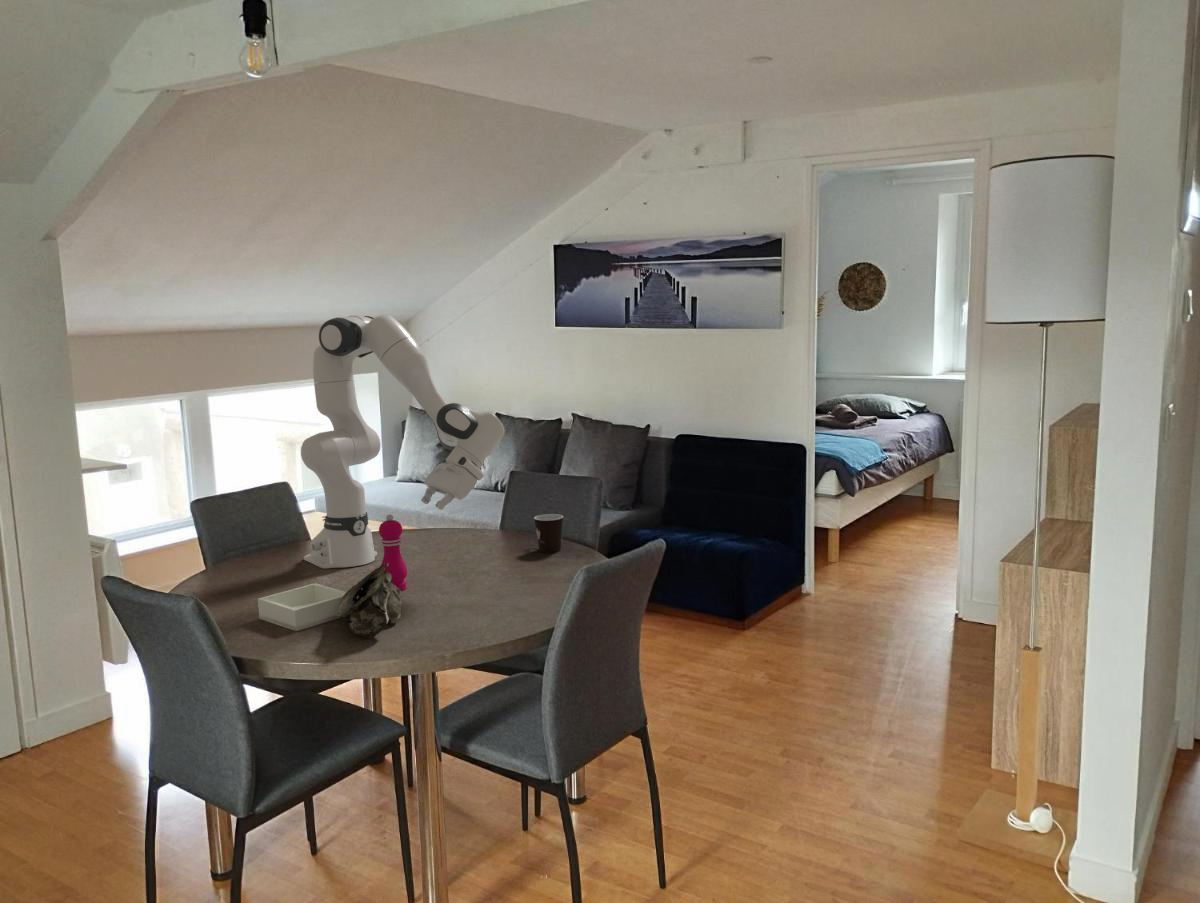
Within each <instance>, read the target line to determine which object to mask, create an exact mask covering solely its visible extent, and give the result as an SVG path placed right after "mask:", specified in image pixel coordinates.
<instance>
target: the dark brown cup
mask: <svg viewBox="0 0 1200 903" xmlns="http://www.w3.org/2000/svg"><path fill="white" fill-rule="evenodd" d="M533 521H534V525H535V532H536V538H537V543H538V550H539V552H540V553H544V554H545V553H548V554H552V553H557V552H560V551H561V549H562V538H563V537H562V536H563V524H564V515H562V514H559V513H558V514H557V513H556V514H555V513H547V514H540V515H535V516H534V517H533Z"/></svg>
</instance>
